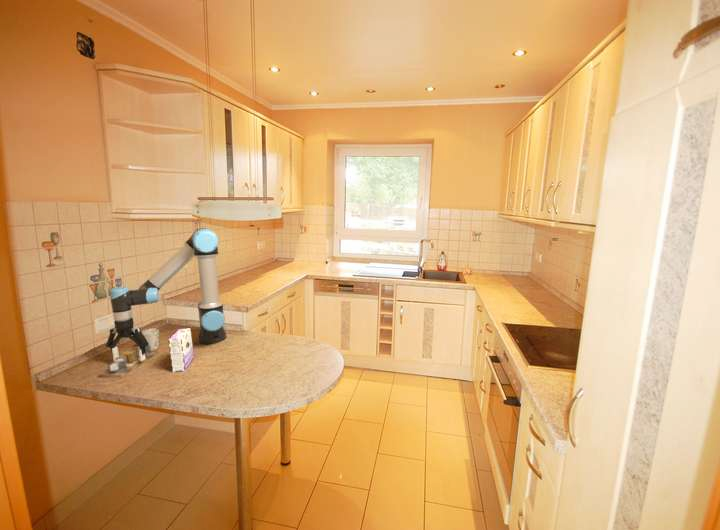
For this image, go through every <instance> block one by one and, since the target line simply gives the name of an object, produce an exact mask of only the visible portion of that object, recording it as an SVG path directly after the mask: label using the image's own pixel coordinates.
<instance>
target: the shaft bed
mask: <svg viewBox="0 0 720 530" xmlns="http://www.w3.org/2000/svg"><path fill="white" fill-rule="evenodd" d="M139 348H140V347H139V346H138V345H137V346H136V347H132V348H131V350H138V355H139ZM145 349H146V353H145V358H146V359H144V360H143V361H140V356H139V360H137V361H135V362H134V363H132V364H131V365H127V363H126V356H124V357H116V361H111V362H110V363H109V364H108V365H107V368H108V369H106V370H104V371H103V372H100V374H99V373H98V375H97V377H98V378H122V377H124V376H125V375H127V374H128V373H130V372H131V371H133V370H134V369H136V368H138V367H139V366H141V365H142V364H144V363H146V362H147V361H148V360H150V359H151V358H153V357H155V356H156V355H157V354H159V352H158V351H155V350H151V348H150V346H149V345H148V346H146V347H145Z"/></svg>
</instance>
